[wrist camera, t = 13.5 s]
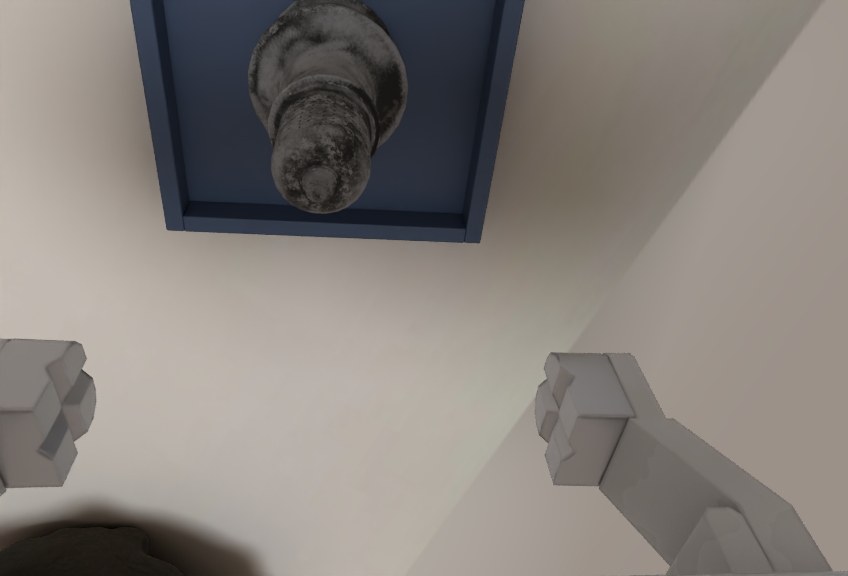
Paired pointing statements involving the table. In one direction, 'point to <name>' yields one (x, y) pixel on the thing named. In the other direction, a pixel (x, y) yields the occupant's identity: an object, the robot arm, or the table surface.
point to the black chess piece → (326, 99)
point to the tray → (392, 162)
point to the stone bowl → (84, 554)
